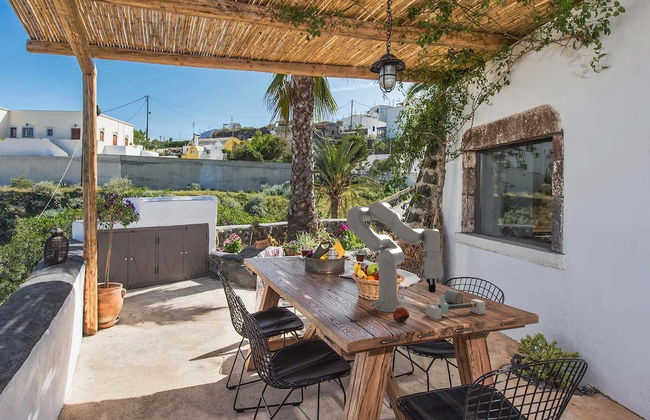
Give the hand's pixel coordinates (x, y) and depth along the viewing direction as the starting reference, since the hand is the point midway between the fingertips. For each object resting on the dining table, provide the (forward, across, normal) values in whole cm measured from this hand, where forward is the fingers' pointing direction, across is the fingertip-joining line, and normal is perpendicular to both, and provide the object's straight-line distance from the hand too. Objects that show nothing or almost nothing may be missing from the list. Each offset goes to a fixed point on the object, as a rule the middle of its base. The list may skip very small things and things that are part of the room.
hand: (432, 292), depth 189 cm
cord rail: (+13, +15, +1) cm, 20 cm away
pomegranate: (+12, -19, -2) cm, 23 cm away
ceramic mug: (+13, +29, +20) cm, 38 cm away
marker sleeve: (+11, +6, +1) cm, 13 cm away
